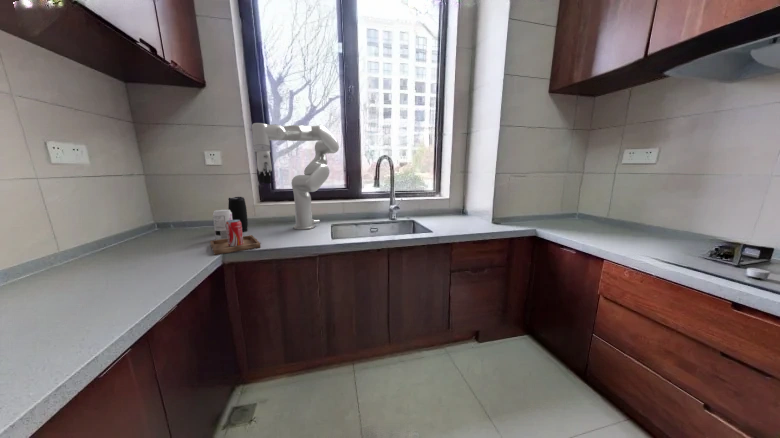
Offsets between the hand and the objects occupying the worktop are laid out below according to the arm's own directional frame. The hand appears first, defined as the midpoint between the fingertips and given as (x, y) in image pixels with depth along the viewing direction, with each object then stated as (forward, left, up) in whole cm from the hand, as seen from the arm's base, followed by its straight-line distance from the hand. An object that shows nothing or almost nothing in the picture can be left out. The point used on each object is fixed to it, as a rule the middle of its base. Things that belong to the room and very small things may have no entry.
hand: (265, 182), depth 140 cm
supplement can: (+20, -6, -28) cm, 35 cm away
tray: (+18, +11, -28) cm, 35 cm away
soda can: (+18, +12, -28) cm, 35 cm away
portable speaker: (+11, -21, -28) cm, 37 cm away
